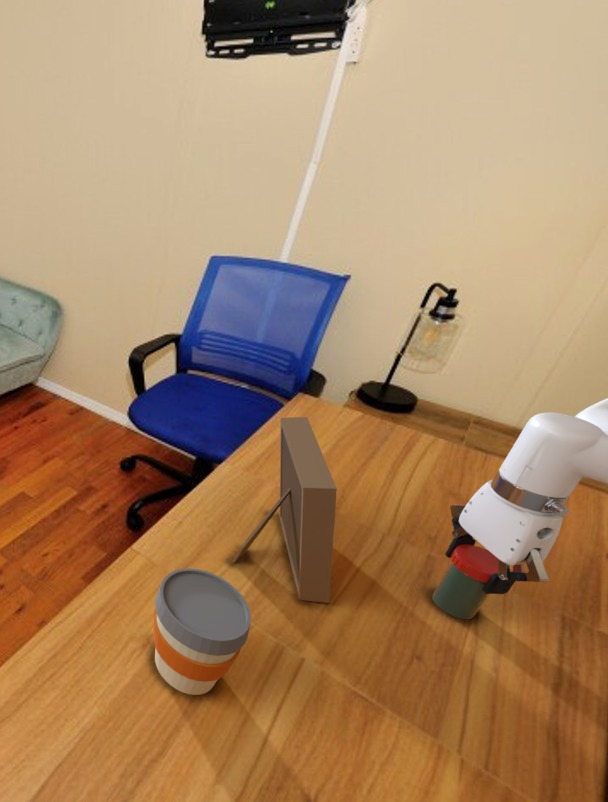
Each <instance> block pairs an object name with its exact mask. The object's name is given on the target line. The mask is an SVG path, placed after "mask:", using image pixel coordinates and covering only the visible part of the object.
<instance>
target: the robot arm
mask: <svg viewBox="0 0 608 802" xmlns="http://www.w3.org/2000/svg"><path fill="white" fill-rule="evenodd" d="M584 478H585V479H586V478H587V479H590V480H593V481H597V482H600V483H603V484H607V485H608V397H607V398H605V399H601V400H600V401H598V402H596V403H593V404H592V405H590V406H588V407H586V408H584V409H583V410H581V411H579V412H578V413H577V414H576V415H575V416H574V415H570V414H564V413H559V412H541V413H537V414H535V415H533V416H531V418H529V420H528V421H527V422H526V423H525V425H524V427H523V429H522V431H521V432H520V434H519V436H518V437H517V438H516V441H515V442H514V444H513V445H512V447H511V448H510V451H509V452H508V454H507V455H506V457H505V458H504V461H503V462H502V464H501V465H500V467H499V469H498V471H496V474H495V475H494V477H493V479H489V480H488V481H487V482H485V483H484V484H483V485H482V486H481V487H480V488H479V489H478V490H476V492H475V493H474V494H473V495H472V497H471V498H470V499H469V501H468V502H467V503H466V504H451V505H450V506H449V510H450V514H451V517H452V518H451V523H452V527H453V530H452V531H451V535H452V537H453V539H452V541H451V543H450V544H449V546H448V548H447V550H446V551H445V553H444V555H445V557H447V558H448V559H451V556H452V555H451V554H452V553H453V551H454V549H456V547H457V546H459V545H474V546H476V542H478V543H479V544H480V545H481V546H482V547H483V548H484V549H486V550H488V551H490V552H491V553H492V554H493V555H494V556H496V557H497V558H498V559H499V566H498V573H494V574H492V575H491V577H490V578H489V580H488V581H487V583H486V584H485V586H484V587H483V591H484V592H485V593H486V594H489V595H505V594H507V593H509V592H510V590H511V588H512V587H513V585H515V583H516V582H529V583H548V582H549V580H550V579H549V577H548V574H547V571H546V568H545V566H544V561H545V560H546V558H547V556H548V555H549V553H550V552H551V550H552V548H553V546H554V544H555V542H556V541H557V539H558V536H559V533H560V531H561V528H562V526H563V525H562V524H563V519H564V516H565V517H566V516H567V515H569V513H570V509H569V508H567V507H566V505H565V504H566V502H567V501H568V498H569V497H570V496H571V494H572V493H573V492H574V490H575V489H576V487H577V486H578V484H579V483H580V482H581V480H582V479H584ZM525 566H526V567H527V569H528V571H527V572H525V570H526V569H525V568H526V567H525ZM511 567H512V571H511Z"/></svg>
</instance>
